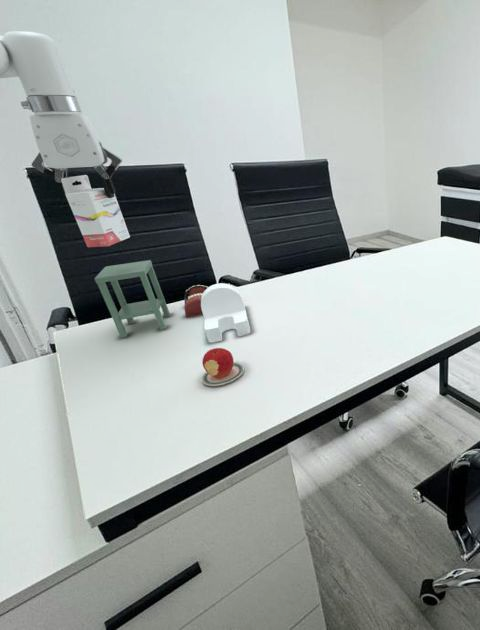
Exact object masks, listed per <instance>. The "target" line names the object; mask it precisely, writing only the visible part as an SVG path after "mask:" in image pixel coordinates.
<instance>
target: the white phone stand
mask: <svg viewBox="0 0 480 630" xmlns="http://www.w3.org/2000/svg"><path fill="white" fill-rule="evenodd" d="M207 287H208V288H207V289H206V290H205V291H204V293H203V294H202V298H201V309H202V316H203V320H204V322H203V325H204V326H203V327H204V328H203V329H204V332H205V334H206V337H207V338H206V339H207V341H208V343H211V344H213V343H217V342H221V341H223V333H224V332H226V331H229V330H236V335H237V337H242V336H247V335H248V334H249V335H250V334H251V332H252V331H251V326H250V322H249V318H248V314H247V309H246V306H245V302H244V298H243V296H242V294H241V292H240V291H239V290H238V289H237V287H235V286H234V285H231V284H229V283H225V282H224V283H223V282H222V283H221V282H220V283H215V284H212V285H210V286H207Z"/></svg>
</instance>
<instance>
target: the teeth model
mask: <svg viewBox="0 0 480 630" xmlns="http://www.w3.org/2000/svg"><path fill="white" fill-rule="evenodd" d="M208 287H209V286H207V285H204V284H203V285H201V284H197V285H192V286H191V287H188V289H186V290H185V293H184V299H183V300H184V315H185V317H186V318H187V317H194V316H198V315H203V313H202V309H201V298H202V294H203V293H204V291H205V290H206V289H207V288H208Z"/></svg>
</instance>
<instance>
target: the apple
mask: <svg viewBox="0 0 480 630" xmlns="http://www.w3.org/2000/svg"><path fill="white" fill-rule="evenodd" d="M201 362H202V367H203V369H204V371H205V372H204V373H203V375H201V382H202V384H204V385H205V386H210V387H215V386H216V387H217V386H222V385H226V384H229V383H231V382H234V381H235V380H237V379H238V378H240V377H241V376H242V375H243V374H244V371H245V368H244V365H242V364H241V363H240V362H239V363H238V362H235V361H234V357H233V355H232V353H231V351H229V350H228V349H226V348H222V347H216V348H212V349H209V350H207V351H206V352H205V353H204V355H203V357H202V361H201Z"/></svg>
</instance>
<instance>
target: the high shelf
mask: <svg viewBox="0 0 480 630" xmlns="http://www.w3.org/2000/svg"><path fill="white" fill-rule="evenodd" d="M147 274H148V275H147ZM148 276H149V278H148ZM134 278H140V281H141V283H142V286H143V289H144V291H145V293H146V297H147V299H148V300H143V301H137V302H131V303H127V300H126V298H125V296H124V293H123V290H122V289H121V286H120V284H119V281H121V280H122V281H123V280H126V279H134ZM149 279H150V280H149ZM94 281H95V283H96V284H97V286H98V289H99V291H100V293H101V296H102V298H103V300H104V302H105V304H106V307H107V309H108V312H109V314H110V316H111V318H112V320H113V322H114V324H115V327H116V330H117V331H118V334H119V336H120V338H121V339H123V338H127V337H128V335H129V334H128V332H127V330H126V327H125V326H124V323H123V320H126V322H127V324H128V325H130V324H134V323H135V319H134V318H138V317H144V316H149V315H154V317H155V320H156V322H157V325H158V328H159V330H160V331H162V330H166V329H167V325H166V323H165V320H164V318H168V317H170V316H171V313H170V309H169V307H168V305H167V302H166V299H165V296H164V293H163V291H162V288H161V286H160V283H159V281H158V278H157V275H156V272H155V270H154V267H153V262H152V260H151V259H149V260H142V261H141V260H140V261H135V262H127V263H121V264H114V265H108V266H107V265H106V266H105V267H103V268H102V269H101V271H100V272H99V273H98V274H97V275H96V276H95V277H94ZM106 282H110V285H111V286H112V289H113V291H114V294H115V296H116V298H117V300H118V304H119V305H120V309H119V311H118V309H117V307H116V305H115V302H114V300H113V297H112V294H111V293H110V291H109V289H108V286H107V284H106ZM150 282H151V284H152V286H151V284H150ZM152 287H153V288H152ZM153 289H154V291H153ZM154 292H155V294H154ZM155 295H156V296H155ZM156 297H157V298H156ZM160 309H161V310H162V312H161V310H160ZM162 313H163V315H162ZM163 316H164V317H163Z"/></svg>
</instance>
